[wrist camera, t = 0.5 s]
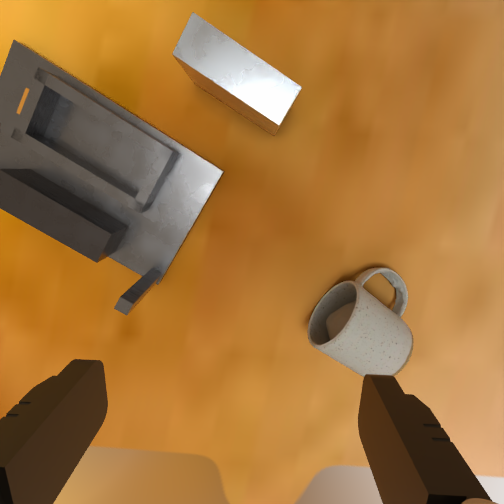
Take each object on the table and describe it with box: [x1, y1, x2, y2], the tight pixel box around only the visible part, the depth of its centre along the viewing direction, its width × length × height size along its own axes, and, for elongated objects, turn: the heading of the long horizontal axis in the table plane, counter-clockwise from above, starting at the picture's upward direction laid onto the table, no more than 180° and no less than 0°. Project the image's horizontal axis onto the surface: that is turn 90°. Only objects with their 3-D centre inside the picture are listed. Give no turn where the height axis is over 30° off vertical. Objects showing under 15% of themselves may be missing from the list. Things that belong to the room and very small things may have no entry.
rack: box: [0, 40, 224, 315], centre depth 28 cm, size 14×22×9 cm, turn 58°
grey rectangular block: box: [173, 13, 302, 136], centre depth 26 cm, size 3×9×8 cm, turn 58°
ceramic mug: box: [308, 267, 413, 377], centre depth 32 cm, size 11×8×8 cm
